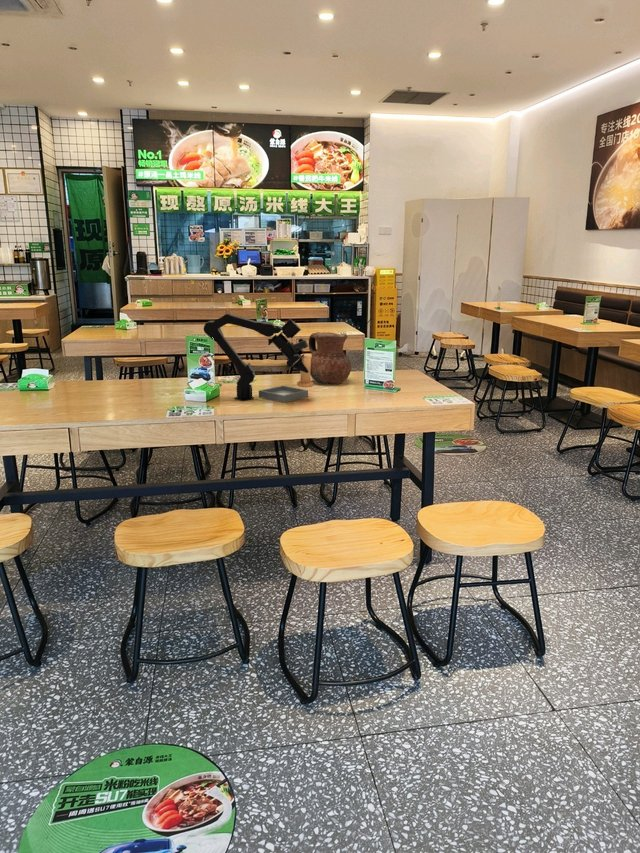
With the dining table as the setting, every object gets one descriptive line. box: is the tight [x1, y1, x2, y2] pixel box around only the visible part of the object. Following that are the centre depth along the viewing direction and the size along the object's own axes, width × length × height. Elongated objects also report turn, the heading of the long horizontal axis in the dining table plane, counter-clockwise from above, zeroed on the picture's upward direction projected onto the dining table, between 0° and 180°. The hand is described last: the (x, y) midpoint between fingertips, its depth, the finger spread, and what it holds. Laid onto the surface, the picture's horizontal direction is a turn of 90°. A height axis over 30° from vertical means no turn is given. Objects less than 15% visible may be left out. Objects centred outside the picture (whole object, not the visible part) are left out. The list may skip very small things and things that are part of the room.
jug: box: [308, 331, 353, 386], centre depth 316 cm, size 22×21×25 cm
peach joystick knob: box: [296, 355, 314, 389], centre depth 277 cm, size 7×7×13 cm
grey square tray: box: [258, 385, 309, 403], centre depth 286 cm, size 16×16×3 cm
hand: (308, 371), depth 277 cm, fingers closed on peach joystick knob, 4 cm apart
